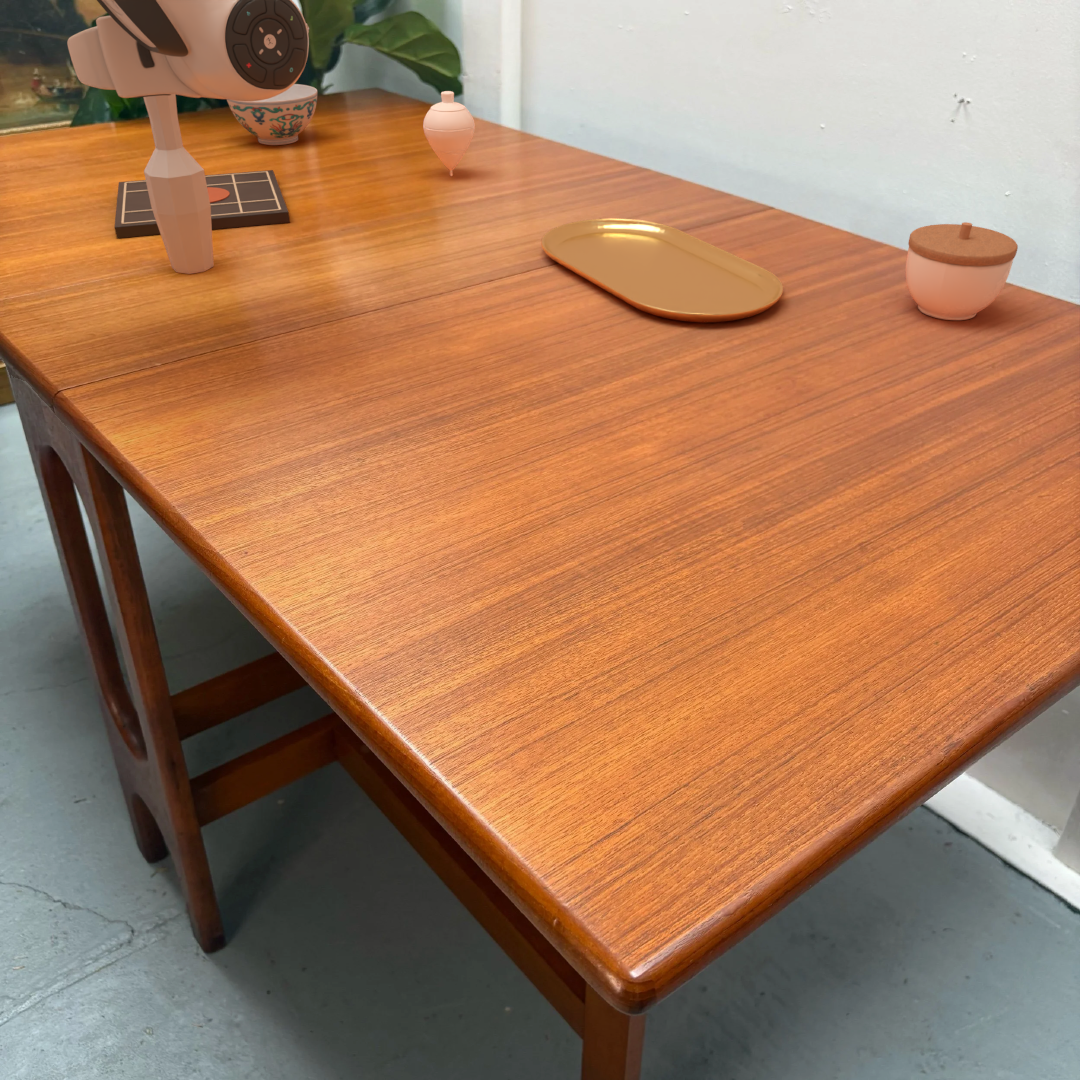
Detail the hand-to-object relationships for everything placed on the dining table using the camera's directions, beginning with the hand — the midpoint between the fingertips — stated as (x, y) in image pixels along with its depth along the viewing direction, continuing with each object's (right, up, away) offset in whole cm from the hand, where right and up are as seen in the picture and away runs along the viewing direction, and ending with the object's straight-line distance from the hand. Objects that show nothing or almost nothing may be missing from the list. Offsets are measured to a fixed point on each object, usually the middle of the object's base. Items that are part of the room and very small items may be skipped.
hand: (165, 45), depth 100 cm
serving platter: (+51, -18, +20) cm, 57 cm away
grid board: (-10, -2, +42) cm, 43 cm away
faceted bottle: (-5, -16, +22) cm, 28 cm away
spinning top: (+23, +7, +55) cm, 60 cm away
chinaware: (-8, +19, +74) cm, 77 cm away
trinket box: (+81, -24, +11) cm, 85 cm away
